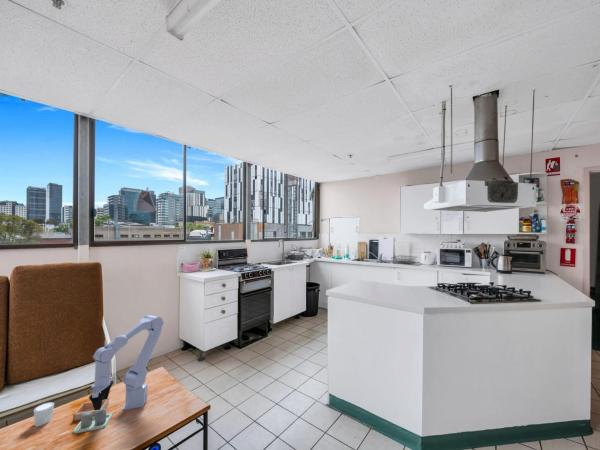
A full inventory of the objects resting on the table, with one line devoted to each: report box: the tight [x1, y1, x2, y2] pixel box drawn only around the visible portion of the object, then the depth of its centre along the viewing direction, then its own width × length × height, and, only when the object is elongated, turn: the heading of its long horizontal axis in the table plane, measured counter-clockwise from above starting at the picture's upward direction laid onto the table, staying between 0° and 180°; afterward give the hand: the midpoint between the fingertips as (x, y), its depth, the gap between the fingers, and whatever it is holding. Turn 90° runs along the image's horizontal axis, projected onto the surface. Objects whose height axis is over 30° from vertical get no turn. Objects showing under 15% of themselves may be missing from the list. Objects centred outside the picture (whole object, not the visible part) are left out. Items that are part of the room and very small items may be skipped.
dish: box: [72, 398, 110, 422], centre depth 124 cm, size 11×9×3 cm
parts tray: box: [72, 412, 114, 435], centre depth 116 cm, size 12×9×1 cm
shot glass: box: [33, 401, 55, 427], centre depth 118 cm, size 7×7×7 cm
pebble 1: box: [80, 411, 93, 428], centre depth 115 cm, size 4×4×5 cm
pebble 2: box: [95, 408, 107, 426], centre depth 117 cm, size 4×4×5 cm
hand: (101, 404), depth 117 cm, fingers open, 7 cm apart
